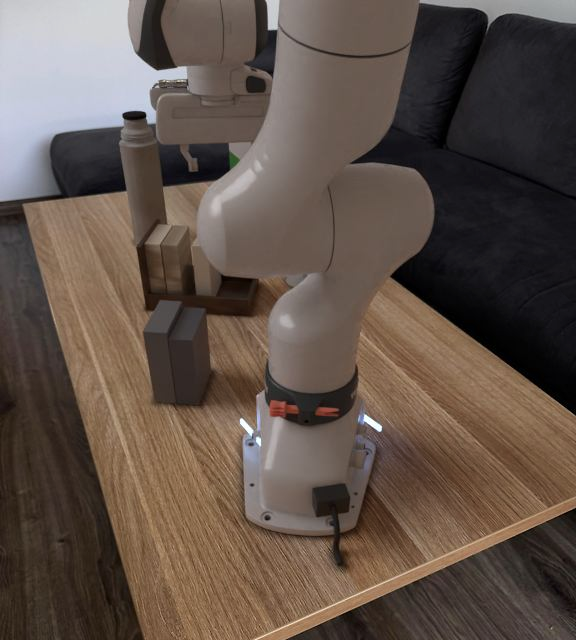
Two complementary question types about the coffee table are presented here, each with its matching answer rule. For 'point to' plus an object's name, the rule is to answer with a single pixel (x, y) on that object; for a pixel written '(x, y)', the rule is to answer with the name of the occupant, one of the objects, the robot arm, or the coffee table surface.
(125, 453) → the coffee table surface
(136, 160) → the thermos bottle
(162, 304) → the grey books
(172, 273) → the dark wooden book rack
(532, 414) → the coffee table surface
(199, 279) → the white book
